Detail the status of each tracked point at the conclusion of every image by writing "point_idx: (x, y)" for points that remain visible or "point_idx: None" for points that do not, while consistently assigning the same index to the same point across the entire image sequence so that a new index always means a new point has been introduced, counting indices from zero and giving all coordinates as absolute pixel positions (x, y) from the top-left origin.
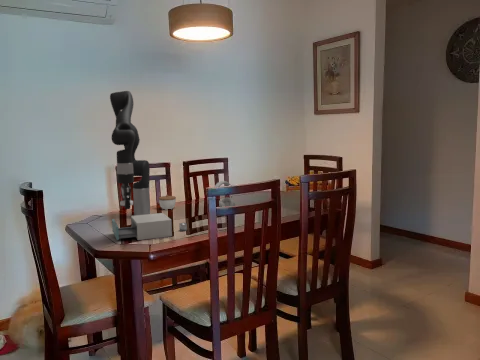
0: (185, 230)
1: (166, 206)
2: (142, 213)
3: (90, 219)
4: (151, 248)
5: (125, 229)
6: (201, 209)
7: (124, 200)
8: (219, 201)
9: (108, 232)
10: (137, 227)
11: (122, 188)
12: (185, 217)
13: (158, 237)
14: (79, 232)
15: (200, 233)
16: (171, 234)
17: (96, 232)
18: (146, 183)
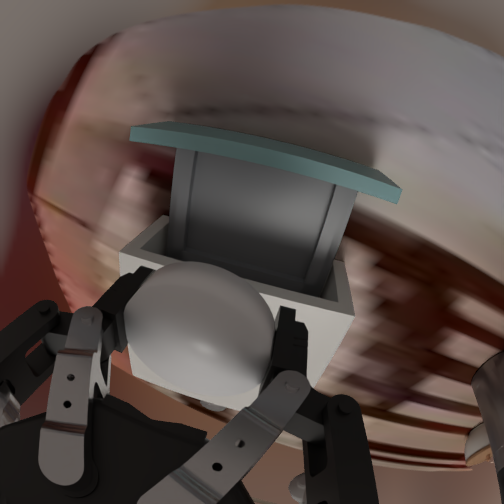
0: None
1: (476, 434)
2: (486, 380)
3: None
4: (56, 212)
5: (321, 228)
6: (400, 467)
7: (265, 361)
8: (300, 500)
9: (416, 164)
10: (132, 242)
11: (42, 453)
12: (369, 440)
13: None
14: (497, 68)
15: (158, 385)
16: None
17: (455, 119)
18: (500, 487)
